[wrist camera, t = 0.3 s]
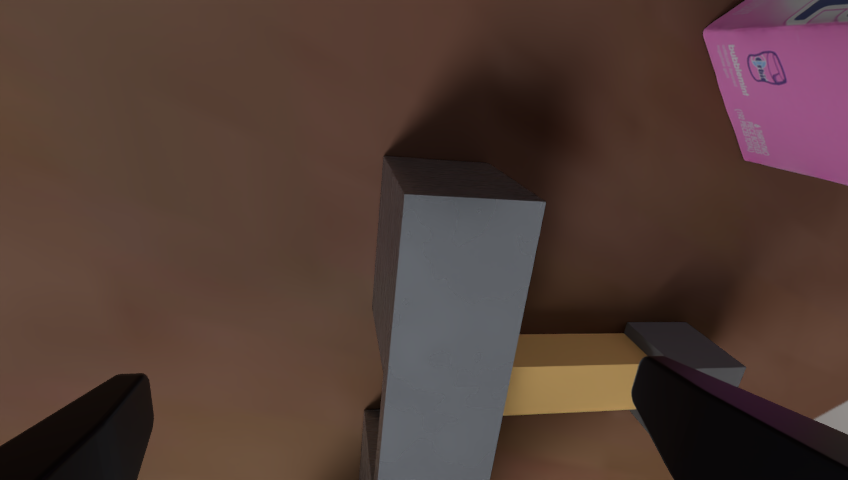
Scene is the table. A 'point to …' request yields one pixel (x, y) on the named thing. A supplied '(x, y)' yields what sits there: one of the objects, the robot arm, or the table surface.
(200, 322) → the table surface
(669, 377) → the robot arm
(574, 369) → the plug
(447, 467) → the block
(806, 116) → the gum box
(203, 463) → the table surface
